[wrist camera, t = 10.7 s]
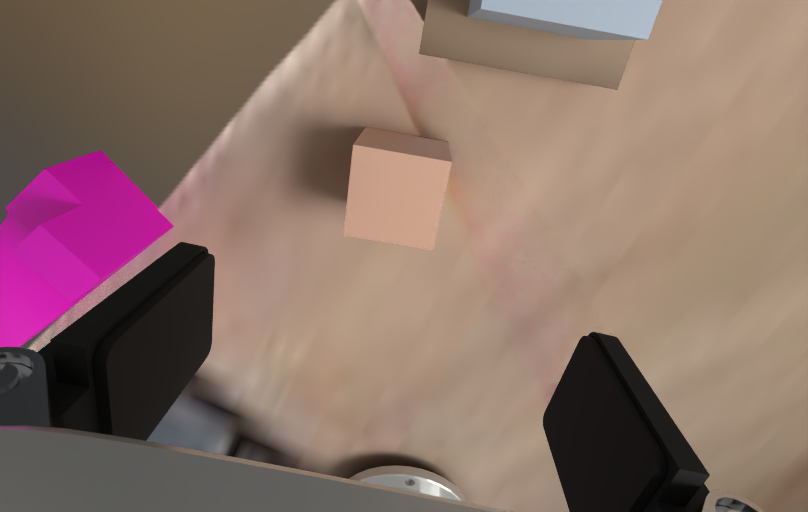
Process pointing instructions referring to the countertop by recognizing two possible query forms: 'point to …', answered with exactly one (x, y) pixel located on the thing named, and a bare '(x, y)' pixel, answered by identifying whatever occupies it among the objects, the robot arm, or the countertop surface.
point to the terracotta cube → (396, 188)
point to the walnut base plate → (521, 47)
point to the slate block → (573, 16)
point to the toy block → (68, 241)
